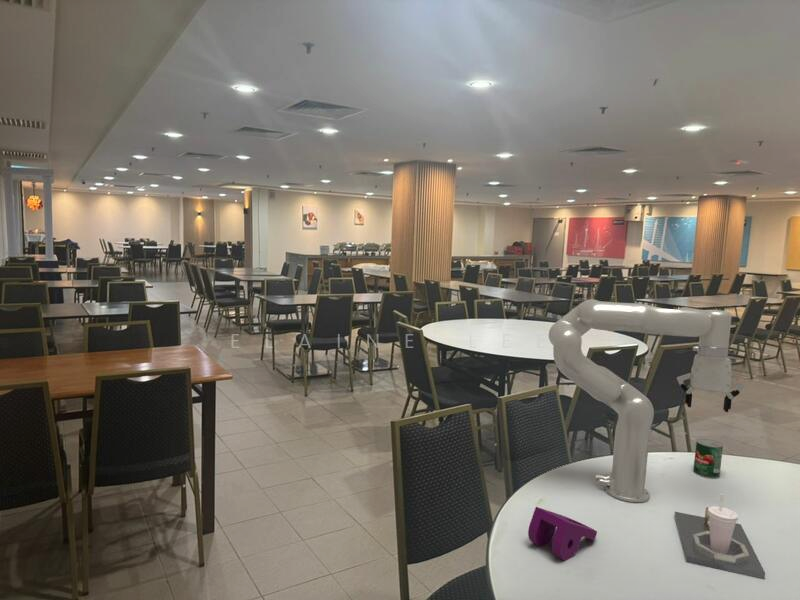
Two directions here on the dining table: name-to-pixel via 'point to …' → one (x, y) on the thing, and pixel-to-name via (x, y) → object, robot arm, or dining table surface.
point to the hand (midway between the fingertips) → (707, 408)
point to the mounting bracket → (558, 532)
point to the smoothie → (721, 527)
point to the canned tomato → (708, 458)
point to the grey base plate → (699, 552)
